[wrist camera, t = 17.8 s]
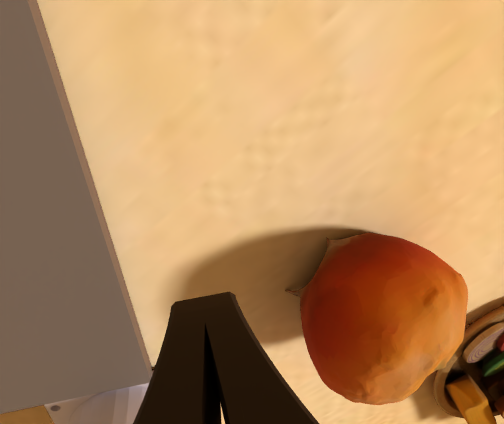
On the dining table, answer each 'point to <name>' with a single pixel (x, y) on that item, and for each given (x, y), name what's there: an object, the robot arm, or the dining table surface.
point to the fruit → (381, 317)
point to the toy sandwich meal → (475, 373)
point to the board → (54, 240)
